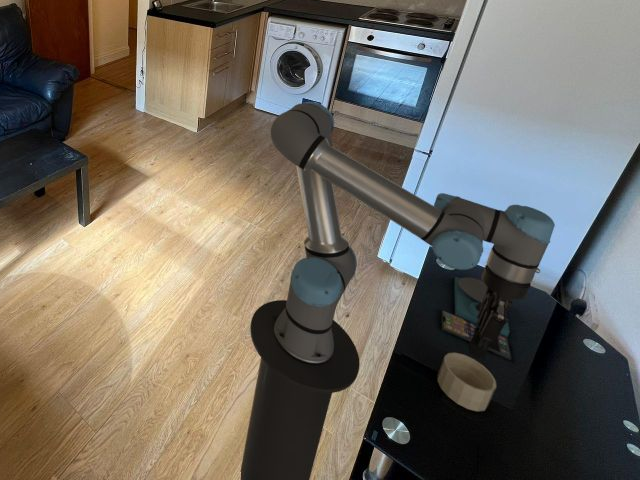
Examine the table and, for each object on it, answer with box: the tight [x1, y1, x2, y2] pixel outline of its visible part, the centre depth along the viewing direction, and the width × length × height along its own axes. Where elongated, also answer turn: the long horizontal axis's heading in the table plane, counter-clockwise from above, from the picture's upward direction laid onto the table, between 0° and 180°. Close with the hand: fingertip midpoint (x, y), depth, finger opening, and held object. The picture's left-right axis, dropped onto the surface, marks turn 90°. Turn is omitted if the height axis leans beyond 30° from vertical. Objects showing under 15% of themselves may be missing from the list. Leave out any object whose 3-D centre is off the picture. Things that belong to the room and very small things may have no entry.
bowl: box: [436, 352, 497, 412], centre depth 98 cm, size 10×10×7 cm
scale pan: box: [458, 277, 487, 303], centre depth 126 cm, size 12×12×1 cm
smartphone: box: [441, 309, 512, 361], centre depth 115 cm, size 8×15×1 cm, turn 54°
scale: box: [453, 276, 510, 338], centre depth 125 cm, size 18×12×4 cm, turn 142°
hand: (475, 353), depth 96 cm, fingers closed
